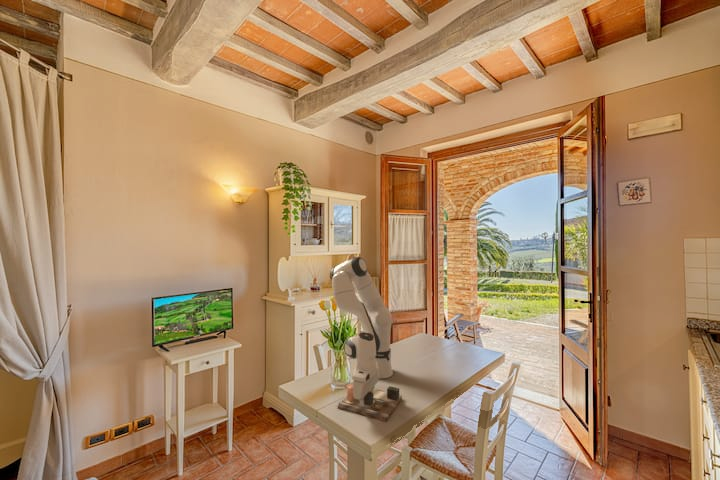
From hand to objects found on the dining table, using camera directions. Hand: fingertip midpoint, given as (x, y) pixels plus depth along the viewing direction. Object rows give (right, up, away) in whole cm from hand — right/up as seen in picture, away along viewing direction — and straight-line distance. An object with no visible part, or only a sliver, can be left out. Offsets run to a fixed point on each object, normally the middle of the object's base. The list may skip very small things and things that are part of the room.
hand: (366, 399), depth 141 cm
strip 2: (+8, -2, +6) cm, 11 cm away
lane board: (+2, -4, +4) cm, 5 cm away
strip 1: (-4, -2, +2) cm, 5 cm away
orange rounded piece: (-7, -1, +3) cm, 8 cm away
